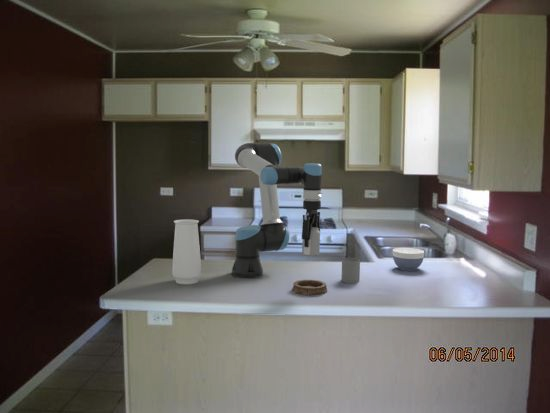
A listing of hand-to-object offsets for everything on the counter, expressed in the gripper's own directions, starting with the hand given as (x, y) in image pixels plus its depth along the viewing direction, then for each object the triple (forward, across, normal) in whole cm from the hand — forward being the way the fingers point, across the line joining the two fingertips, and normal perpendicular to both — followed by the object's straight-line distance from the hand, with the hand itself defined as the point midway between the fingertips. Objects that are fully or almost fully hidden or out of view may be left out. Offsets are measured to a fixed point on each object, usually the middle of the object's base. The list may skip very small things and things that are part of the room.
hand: (310, 252), depth 227 cm
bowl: (+17, +63, -28) cm, 71 cm away
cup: (+17, +25, -10) cm, 32 cm away
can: (+1, 0, 0) cm, 1 cm away
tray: (+17, 0, 0) cm, 17 cm away
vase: (+17, -14, +55) cm, 59 cm away
